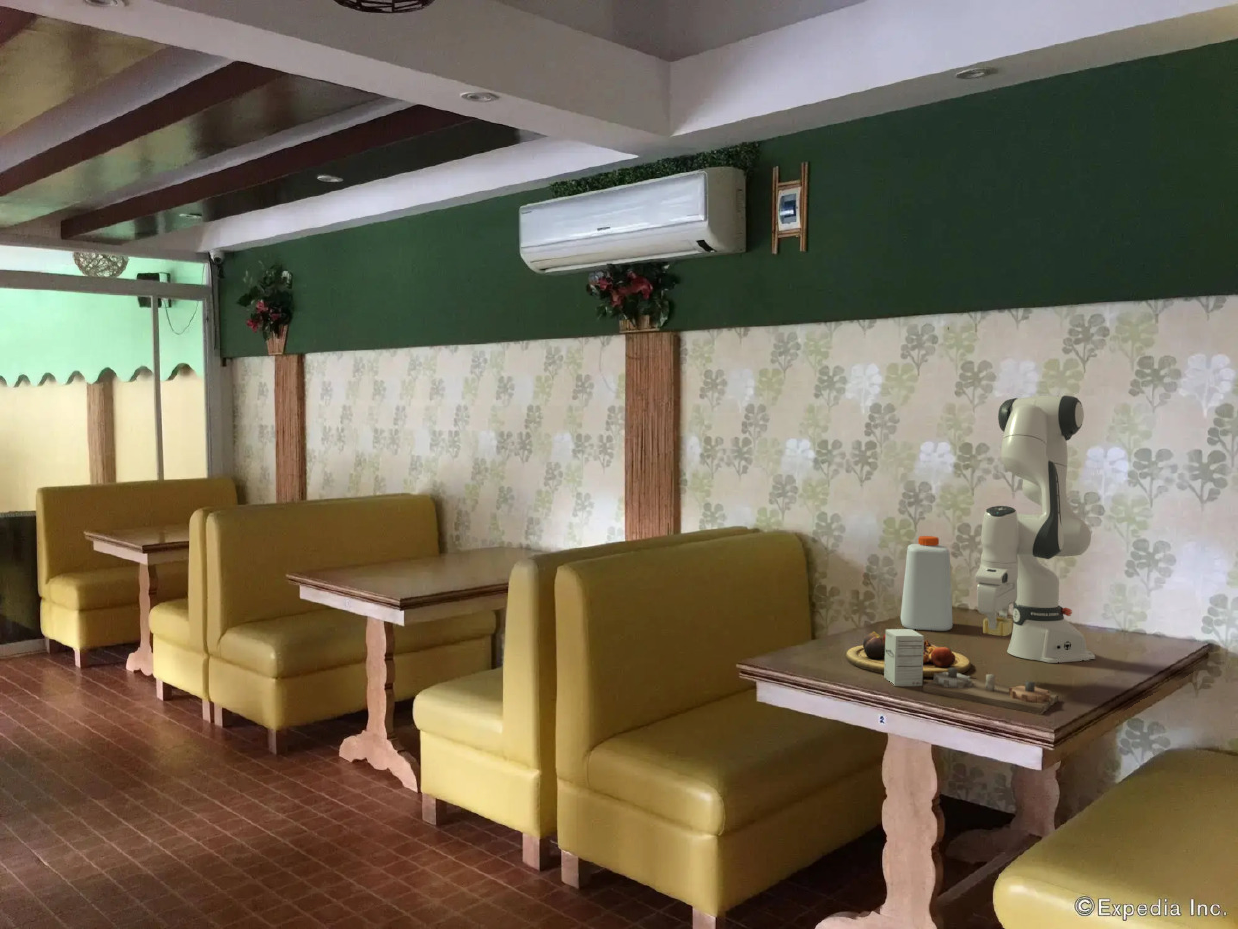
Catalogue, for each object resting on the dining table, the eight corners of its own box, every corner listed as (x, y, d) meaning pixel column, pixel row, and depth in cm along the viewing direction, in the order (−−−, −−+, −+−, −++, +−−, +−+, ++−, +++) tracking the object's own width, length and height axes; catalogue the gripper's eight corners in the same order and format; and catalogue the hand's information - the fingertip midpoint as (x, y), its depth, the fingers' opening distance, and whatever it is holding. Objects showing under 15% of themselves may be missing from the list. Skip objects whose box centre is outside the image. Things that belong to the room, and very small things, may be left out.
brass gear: (989, 628, 255) (989, 615, 255) (1013, 631, 251) (1013, 619, 251) (981, 632, 250) (981, 620, 250) (1005, 636, 246) (1006, 624, 246)
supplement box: (883, 678, 249) (884, 628, 249) (911, 678, 250) (913, 628, 249) (893, 686, 242) (895, 635, 241) (923, 686, 243) (924, 635, 242)
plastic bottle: (948, 622, 316) (951, 535, 315) (953, 632, 302) (956, 541, 300) (899, 619, 320) (902, 533, 318) (902, 629, 305) (904, 539, 303)
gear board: (944, 679, 249) (944, 660, 248) (1058, 700, 232) (1059, 679, 232) (923, 691, 238) (923, 671, 237) (1040, 714, 221) (1041, 692, 221)
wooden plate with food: (995, 677, 253) (996, 645, 253) (881, 682, 246) (882, 649, 246) (929, 649, 284) (930, 621, 284) (826, 653, 277) (827, 623, 277)
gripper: (999, 563, 259) (998, 615, 261) (972, 576, 243) (971, 631, 245) (1024, 566, 255) (1023, 619, 257) (999, 579, 239) (997, 635, 241)
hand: (997, 625), depth 251 cm, fingers closed on brass gear, 6 cm apart
